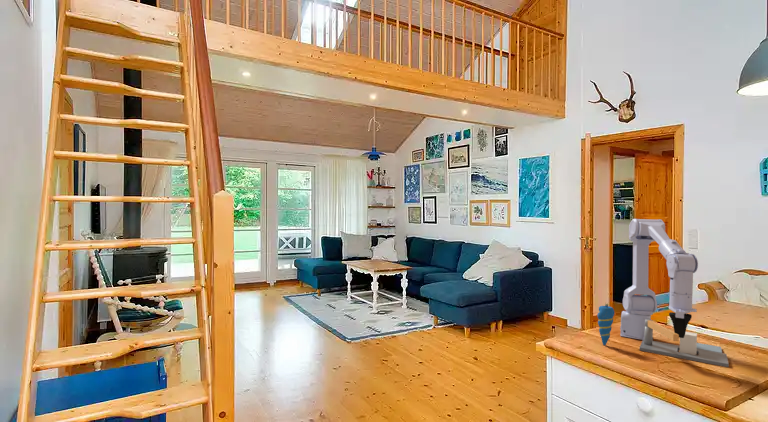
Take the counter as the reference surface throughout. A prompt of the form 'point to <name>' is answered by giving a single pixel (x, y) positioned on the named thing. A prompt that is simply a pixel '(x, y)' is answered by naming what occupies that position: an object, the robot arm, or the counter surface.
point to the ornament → (605, 322)
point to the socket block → (672, 350)
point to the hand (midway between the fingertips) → (679, 337)
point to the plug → (688, 343)
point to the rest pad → (709, 347)
